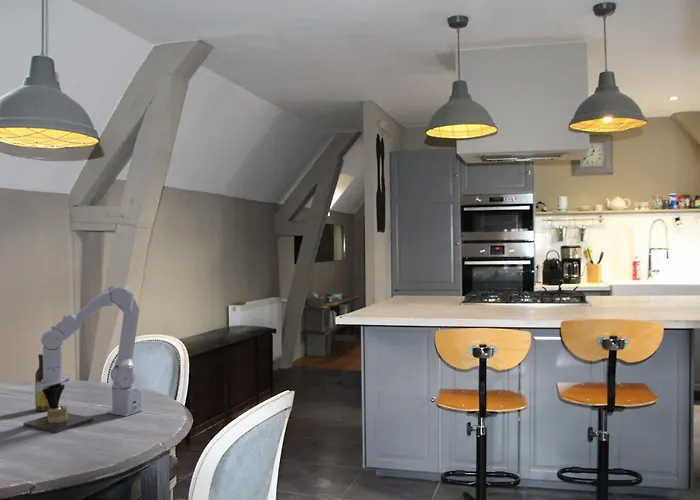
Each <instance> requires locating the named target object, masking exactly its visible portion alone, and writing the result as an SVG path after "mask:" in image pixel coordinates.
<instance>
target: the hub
mask: <svg viewBox="0 0 700 500" xmlns="http://www.w3.org/2000/svg"><path fill="white" fill-rule="evenodd" d="M59 409H61V408H60V407H57V408H56V409H55V410H59ZM93 421H94V418H93V417H91V416H86V415H80V414H75V413H69V412H67V420H66V421H63V422H60V423H49V422H48V417H47V415H46V416H43V417H38V418H36V419H32V420H29V421H25V422H23V426H22V427H26V428H30V429H36V430H41V431H44V432H49V433H55V434H57V433H60V432H63V431H67V430H69V429H72V428H76V427H78V426H82V425H84V424H87V423H90V422H93Z"/></svg>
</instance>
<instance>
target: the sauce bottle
mask: <svg viewBox="0 0 700 500" xmlns="http://www.w3.org/2000/svg"><path fill="white" fill-rule="evenodd" d="M37 356H38V357H37V358H38V368H37V370H36V372H35V375H34V376H35V381H34V386H35V385H37V384H39V383H40V382H41V380H43V352H42V353H38V355H37ZM34 392H35V393H34V395H35V396H34V398H35V399H34V401H35V404H34V405H35V411H37V412H45V411H47V410H48V408H50V407H49V404H48V401H47V398H46V396H45V394H44V393H43V392H42V391H35V390H34Z"/></svg>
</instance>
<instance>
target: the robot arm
mask: <svg viewBox="0 0 700 500" xmlns="http://www.w3.org/2000/svg"><path fill="white" fill-rule="evenodd" d="M112 303H113V304H114V305H116V306H117V307H118V308H119V309H120V311H121V312H122V313H123V318H122V325H121V331H120V338H119V339H120V340H119V343H118V345H119V346H118V351H117V358H116V360H115V363H114V366H113V368H112V370H111V371H110V378H111V381H113V384H112V385H111V401H112V403H111V404H112V405H111V406H112V409H110V410H108V411H106V414H112V415H117V416H122V417H127V416H131V415H135V414H136V413H139V412H142V411H144V409H143V408H142V394H141V391H140V389H139V388H137V387H135V384H134V383H135V379H136V378H135V377H136V376H135V373H134V361H133V359H134V358H133V357H134V350H135V344H136V336H137V331H138V330H137V329H138V323H139V315H140V308H139V307H140V306H139V305H138V303H137V301H136V299H135V297H134V294H133V293H132V292H131V290H129V289H128V288H127V287H125V286H121V285H119V284H114V285H111V286H109V287H108V288H107V289H105V290H103V291H102V292H101V293H99V294H98V295H97V296H95V298H93V299H92V300H91V301H89V303H87V304H86V305H85V306H84V307H83V308H81V309H80V310H79V311H78V312H76V314H72V313H71V314H68V315H63V317H62V320H61V321H59V322H58V323H57V324H55V325H52V326H51V327H50V329H49V330H47V331H45V332H44V333H43V334H42V335H41V338H40V342H41V344H42V345H43V346H42V353H43V380H41V382H40V383H39V384H37V385H35V384H34V392H35V391H42V392H43V393H44V394H45V396H46V398H47V401H48V404H49V407H50V408H57V407H58V406H59V402H60V398H61V396H62V393H63V391H64V389H65V388H66V387H65V386H66V385H65V384H63V383H66V382H70V381H71V375H69V374H68V375H67V374H64V375H63V353H62V345H63V344H64V340H65V341H66V340H68V339H69V338H70V337H71V336H72V335H74V334H75V333H76V332H77V331H79V329H81V328H82V326H83V324H82V323H83V321H85V320H86V319H87V318H89V317H91V316H92V315H93V314H94V313H96V312H98V311H99V310H100V309H101V308H102V307H111V306H113V304H112Z"/></svg>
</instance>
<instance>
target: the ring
mask: <svg viewBox="0 0 700 500" xmlns="http://www.w3.org/2000/svg"><path fill="white" fill-rule="evenodd" d="M58 407H60V408H61V409H59V410H55V409H56V408H48V410H47V413H46V414H47V415H46V416H47V417H48V422H49V423H60V422H63V421H66V420H67V413H68V406H66V405H58Z"/></svg>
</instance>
